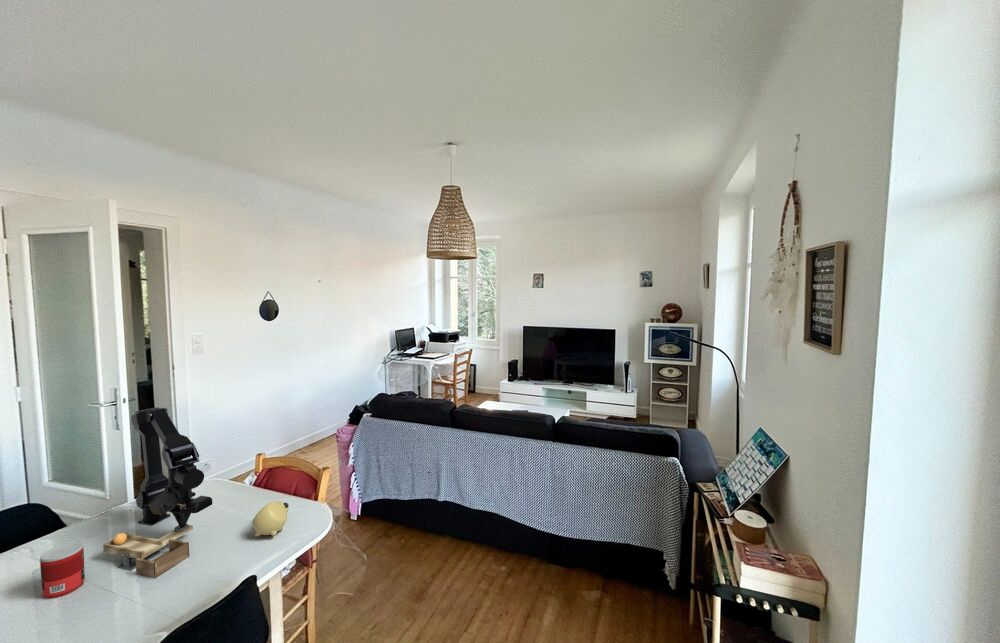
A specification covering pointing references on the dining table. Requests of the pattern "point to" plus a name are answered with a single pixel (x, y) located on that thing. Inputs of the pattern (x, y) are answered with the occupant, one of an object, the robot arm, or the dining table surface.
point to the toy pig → (270, 518)
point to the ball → (119, 538)
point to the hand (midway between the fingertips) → (182, 527)
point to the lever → (143, 543)
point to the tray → (163, 560)
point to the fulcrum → (134, 560)
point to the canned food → (62, 569)
